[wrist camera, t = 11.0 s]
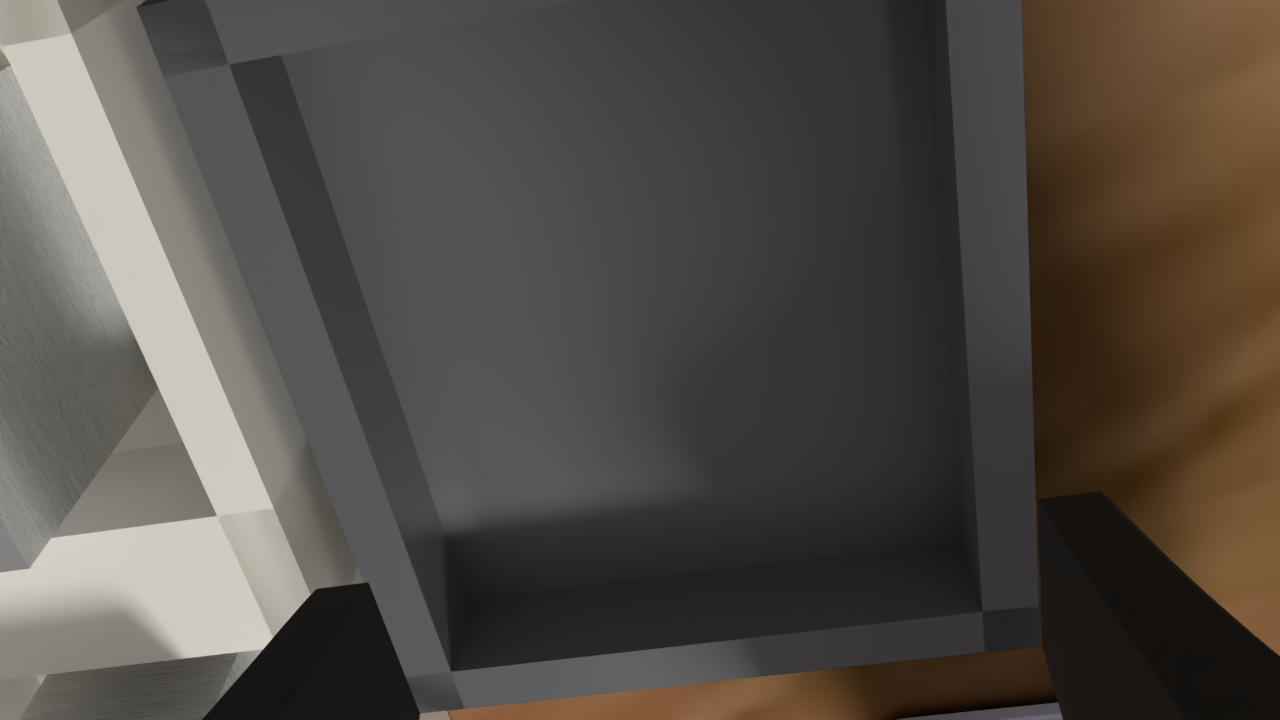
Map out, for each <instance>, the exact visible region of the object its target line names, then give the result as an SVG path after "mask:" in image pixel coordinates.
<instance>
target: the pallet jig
mask: <svg viewBox="0 0 1280 720" xmlns="http://www.w3.org/2000/svg"><path fill="white" fill-rule="evenodd" d="M145 1H146V0H0V66H4V65H11V67H12V69H13V72H14V74H15V76H16V78H17V80H18V82H19V85H20V87H21V89H22V91H23V93H24V96H25V98H26V100H27V102H28V104H29V106H30V109H31V111H32V113H33V115H34V117H35V120H36V122H37V124H38V126H39V128H40V130H41V133H42V135H43V137H44V139H45V141H46V144H47V146H48V148H49V150H50V152H51V154H52V157H53V159H54V161H55V163H56V165H57V168H58V170H59V172H60V174H61V176H62V178H63V181H64V183H65V185H66V187H67V189H68V192H69V194H70V196H71V198H72V200H73V202H74V205H75V207H76V209H77V211H78V213H79V216H80V218H81V220H82V222H83V224H84V226H85V229H86V231H87V233H88V235H89V237H90V240H91V242H92V244H93V246H94V248H95V251H96V253H97V255H98V257H99V259H100V261H101V264H102V266H103V268H104V270H105V272H106V275H107V277H108V279H109V281H110V283H111V285H112V288H113V290H114V292H115V294H116V296H117V299H118V301H119V303H120V305H121V307H122V309H123V312H124V314H125V316H126V318H127V320H128V323H129V325H130V327H131V329H132V331H133V333H134V336H135V338H136V340H137V342H138V344H139V347H140V349H141V351H142V353H143V355H144V357H145V360H146V362H147V364H148V366H149V368H150V371H151V373H152V375H153V377H154V379H155V381H156V384H157V386H158V389H157V390H156V392H155V393H154V394H153V396H152V397H151V399H150V400H149V401H148V403H147V404H146V406H145V407H144V408H143V410H142V411H141V413H140V414H139V415H138V417H137V418H136V420H135V421H134V422H133V424H132V425H131V427H130V428H129V429H128V431H127V432H126V434H125V435H124V436H123V438H122V439H121V441H120V442H119V444H118V445H117V446H116V448H115V449H114V451H113V452H112V453H111V455H110V456H109V458H108V459H107V460H106V462H105V463H104V465H103V466H102V467H101V469H100V470H99V472H98V473H97V474H96V476H95V477H94V479H93V480H92V481H91V483H90V484H89V486H88V487H87V488H86V490H85V491H84V493H83V494H82V495H81V497H80V498H79V500H78V501H77V503H76V504H75V505H74V507H73V508H72V510H71V511H70V512H69V514H68V515H67V517H66V518H65V519H64V521H63V522H62V524H61V525H60V526H59V528H58V529H57V531H56V532H55V533H54V535H53V536H52V538H51V539H50V540H49V542H48V543H47V545H46V546H45V547H44V549H43V550H42V552H41V553H40V554H39V556H38V557H37V559H36V560H35V562H34V563H33V564H32V566H31V567H30V569H23V570H15V571H8V572H0V720H19V719H20V717H21V716H22V714H23V713H24V711H25V709H26V708H27V706H28V704H29V703H30V701H31V700H32V698H33V696H34V695H35V693H36V692H37V690H38V688H39V687H40V685H41V684H42V682H43V680H44V679H45V677H46V676H47V675H49V674H57V673H66V672H74V671H83V670H91V669H100V668H108V667H117V666H125V665H134V664H142V663H151V662H159V661H168V660H176V659H185V658H193V657H202V656H210V655H219V654H227V653H236V652H244V651H253V650H261V649H264V648H265V647H266V645H267V644H268V643H269V642H270V641H271V640H272V638H273V637H274V636H275V635H276V634H277V633H278V631H279V630H280V629H281V628H282V627H283V626H284V624H285V623H286V622H287V621H288V620H289V619H290V617H291V616H292V615H293V614H294V613H295V612H296V611H297V609H298V608H299V607H300V606H301V605H302V604H303V603H304V602H305V600H306V599H307V598H308V597H309V596H310V595H311V594H312V593H313V592H314V591H315V590H316V589H319V588H327V587H335V586H343V585H351V584H359V583H363V580H362V578H361V575H360V573H359V570H358V568H357V565H356V563H355V560H354V557H353V555H352V552H351V550H350V547H349V545H348V542H347V540H346V537H345V535H344V532H343V530H342V527H341V525H340V522H339V519H338V517H337V514H336V512H335V509H334V507H333V504H332V502H331V499H330V497H329V494H328V492H327V489H326V487H325V484H324V482H323V479H322V476H321V474H320V471H319V469H318V466H317V464H316V461H315V459H314V456H313V454H312V451H311V449H310V446H309V444H308V441H307V439H306V436H305V433H304V431H303V428H302V426H301V423H300V421H299V418H298V416H297V413H296V411H295V408H294V406H293V403H292V401H291V398H290V396H289V393H288V390H287V388H286V385H285V383H284V380H283V378H282V375H281V373H280V370H279V368H278V365H277V363H276V360H275V358H274V355H273V352H272V350H271V347H270V345H269V342H268V340H267V337H266V335H265V332H264V330H263V327H262V325H261V322H260V320H259V317H258V315H257V312H256V309H255V307H254V304H253V302H252V299H251V297H250V294H249V292H248V289H247V287H246V284H245V282H244V279H243V277H242V274H241V272H240V269H239V266H238V264H237V261H236V259H235V256H234V254H233V251H232V249H231V246H230V244H229V241H228V239H227V236H226V234H225V231H224V229H223V226H222V223H221V221H220V218H219V216H218V213H217V211H216V208H215V206H214V203H213V201H212V198H211V196H210V193H209V191H208V188H207V185H206V183H205V180H204V178H203V175H202V173H201V170H200V168H199V165H198V163H197V160H196V158H195V155H194V153H193V150H192V148H191V145H190V142H189V140H188V137H187V135H186V132H185V130H184V127H183V125H182V122H181V120H180V117H179V115H178V112H177V110H176V107H175V105H174V102H173V99H172V97H171V94H170V92H169V89H168V87H167V84H166V82H165V79H164V77H163V74H162V72H161V69H160V67H159V64H158V62H157V59H156V56H155V54H154V51H153V49H152V46H151V44H150V41H149V39H148V36H147V34H146V31H145V29H144V26H143V24H142V21H141V19H140V16H139V13H138V11H137V8H136V7H137V6H139V5H140V4H142V3H143V2H145ZM419 720H450V717H449V715H448V712H447V711H439V712H429V713H420V719H419Z"/></svg>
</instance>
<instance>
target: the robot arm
mask: <svg viewBox="0 0 1280 720" xmlns="http://www.w3.org/2000/svg"><path fill="white" fill-rule="evenodd" d="M1038 500H1039V536H1040V573H1041V610H1042V646H1043V650H1044V653H1045V657H1046V661H1047V664H1048V668H1049V672H1050V675H1051V679H1052V683H1053V686H1054V690H1055V694H1056V697H1057V701H1058V702H1057V703H1048V704H1038V705H1028V706H1018V707H1009V708H999V709H989V710H980V711H970V712H960V713H950V714H941V715H931V716H921V717H912V718H902V719H898V720H1280V656H1279V655H1278V654H1276V653H1275V652H1274V651H1273V650H1272V649H1270V648H1269V647H1268V646H1267V645H1266V644H1264V643H1263V642H1262V641H1261V640H1260V639H1258V638H1257V637H1256V636H1255V635H1253V634H1252V633H1251V632H1250V631H1249V630H1248V629H1247V628H1245V627H1244V626H1243V625H1242V624H1241V623H1240V622H1239V621H1237V620H1236V619H1235V618H1234V617H1233V616H1232V615H1231V614H1229V613H1228V612H1227V611H1226V610H1225V609H1224V608H1223V607H1221V606H1220V605H1219V604H1218V603H1217V602H1216V601H1215V600H1214V599H1212V598H1211V597H1210V596H1209V595H1208V594H1207V593H1206V592H1204V591H1203V590H1202V589H1201V588H1200V587H1199V586H1198V585H1197V584H1196V583H1195V582H1194V581H1193V580H1191V579H1190V578H1189V577H1188V576H1187V575H1186V574H1185V573H1184V572H1183V571H1182V570H1181V569H1180V568H1179V567H1178V566H1177V565H1176V564H1175V563H1173V562H1172V561H1171V560H1170V559H1169V558H1168V557H1167V556H1166V555H1165V554H1164V553H1163V552H1162V551H1161V550H1160V549H1159V548H1158V547H1157V546H1156V545H1155V544H1154V543H1153V542H1152V541H1151V540H1150V539H1149V538H1148V537H1147V536H1146V535H1145V534H1144V533H1143V532H1142V531H1141V530H1140V529H1139V528H1138V527H1137V526H1136V525H1135V524H1134V523H1133V522H1132V521H1131V520H1130V519H1129V518H1128V517H1127V516H1126V515H1125V514H1124V513H1123V512H1122V511H1121V510H1120V509H1119V508H1118V507H1117V506H1116V505H1115V504H1114V503H1113V502H1112V501H1111V500H1110V499H1109V498H1107V497H1106V496H1105V495H1103V494H1102V493H1101V492H1095V493H1087V494H1079V495H1070V496H1062V497H1054V498H1046V499H1038ZM419 719H420V712H419V710H418V707H417V705H416V702H415V699H414V697H413V694H412V692H411V689H410V687H409V684H408V682H407V679H406V676H405V674H404V671H403V669H402V666H401V664H400V661H399V659H398V656H397V654H396V651H395V648H394V646H393V643H392V641H391V638H390V636H389V633H388V631H387V628H386V626H385V623H384V620H383V618H382V615H381V613H380V610H379V608H378V605H377V603H376V600H375V597H374V595H373V592H372V590H371V587H370V585H369V582H367V583H359V584H351V585H343V586H335V587H327V588H319V589H316V590H315V591H314V592H313V593H312V594H311V595H310V596H309V597H308V598H307V599H306V600H305V602H304V603H303V604H302V605H301V606H300V607H299V608H298V609H297V611H296V612H295V613H294V614H293V615H292V616H291V617H290V619H289V620H288V621H287V622H286V623H285V624H284V626H283V627H282V628H281V629H280V630H279V631H278V633H277V634H276V635H275V636H274V637H273V638H272V640H271V641H270V642H269V643H268V644H267V645H266V647H265V648H264V649H263V650H262V651H261V652H260V654H259V655H258V656H257V657H256V658H255V659H254V661H253V662H252V663H251V664H250V665H249V666H248V668H247V669H246V670H245V671H244V672H243V673H242V675H241V676H240V677H239V678H238V679H237V680H236V681H235V683H234V684H233V685H232V686H231V687H230V688H229V689H228V691H227V692H226V693H225V694H224V695H223V696H222V697H221V698H220V700H219V701H218V702H217V703H216V704H215V705H214V706H213V708H212V709H211V710H210V711H209V712H208V713H207V714H206V716H205V717H204V718H203V719H202V720H419Z"/></svg>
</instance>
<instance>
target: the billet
mask: <svg viewBox="0 0 1280 720" xmlns="http://www.w3.org/2000/svg"><path fill="white" fill-rule="evenodd" d="M157 389H158V386H157V384H156V381H155V379H154V377H153V375H152V373H151V371H150V368H149V366H148V364H147V362H146V360H145V357H144V355H143V353H142V351H141V349H140V347H139V344H138V342H137V340H136V338H135V336H134V333H133V331H132V329H131V327H130V325H129V323H128V320H127V318H126V316H125V314H124V312H123V309H122V307H121V305H120V303H119V301H118V299H117V296H116V294H115V292H114V290H113V288H112V285H111V283H110V281H109V279H108V277H107V275H106V272H105V270H104V268H103V266H102V264H101V261H100V259H99V257H98V255H97V253H96V251H95V248H94V246H93V244H92V242H91V240H90V237H89V235H88V233H87V231H86V229H85V226H84V224H83V222H82V220H81V218H80V216H79V213H78V211H77V209H76V207H75V205H74V202H73V200H72V198H71V196H70V194H69V192H68V189H67V187H66V185H65V183H64V181H63V178H62V176H61V174H60V172H59V170H58V168H57V165H56V163H55V161H54V159H53V157H52V154H51V152H50V150H49V148H48V146H47V144H46V141H45V139H44V137H43V135H42V133H41V130H40V128H39V126H38V124H37V122H36V120H35V117H34V115H33V113H32V111H31V109H30V106H29V104H28V102H27V100H26V98H25V96H24V93H23V91H22V89H21V87H20V85H19V82H18V80H17V78H16V76H15V74H14V72H13V69H12V67H11V65H4V66H0V572H8V571H15V570H23V569H30V567H31V566H32V564H33V563H34V562H35V560H36V559H37V557H38V556H39V554H40V553H41V552H42V550H43V549H44V547H45V546H46V545H47V543H48V542H49V540H50V539H51V538H52V536H53V535H54V533H55V532H56V531H57V529H58V528H59V526H60V525H61V524H62V522H63V521H64V519H65V518H66V517H67V515H68V514H69V512H70V511H71V510H72V508H73V507H74V505H75V504H76V503H77V501H78V500H79V498H80V497H81V495H82V494H83V493H84V491H85V490H86V488H87V487H88V486H89V484H90V483H91V481H92V480H93V479H94V477H95V476H96V474H97V473H98V472H99V470H100V469H101V467H102V466H103V465H104V463H105V462H106V460H107V459H108V458H109V456H110V455H111V453H112V452H113V451H114V449H115V448H116V446H117V445H118V444H119V442H120V441H121V439H122V438H123V436H124V435H125V434H126V432H127V431H128V429H129V428H130V427H131V425H132V424H133V422H134V421H135V420H136V418H137V417H138V415H139V414H140V413H141V411H142V410H143V408H144V407H145V406H146V404H147V403H148V401H149V400H150V399H151V397H152V396H153V394H154V393H155V392H156V390H157Z"/></svg>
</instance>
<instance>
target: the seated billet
mask: <svg viewBox="0 0 1280 720" xmlns="http://www.w3.org/2000/svg"><path fill="white" fill-rule="evenodd" d="M262 650H263V649H261V650H253V651H244V652H236V653H227V654H219V655H210V656H202V657H193V658H185V659H176V660H168V661H159V662H151V663H142V664H134V665H125V666H117V667H108V668H100V669H91V670H83V671H74V672H66V673H57V674H49V675H47V676H46V677H45V679H44V680H43V682H42V684H41V685H40V687H39V688H38V690H37V692H36V693H35V695H34V696H33V698H32V700H31V701H30V703H29V704H28V706H27V708H26V709H25V711H24V713H23V714H22V716H21V717H20V719H19V720H202V719H203V718H204V717H205V716H206V714H207V713H208V712H209V711H210V710H211V709H212V708H213V706H214V705H215V704H216V703H217V702H218V701H219V700H220V698H221V697H222V696H223V695H224V694H225V693H226V692H227V691H228V689H229V688H230V687H231V686H232V685H233V684H234V683H235V681H236V680H237V679H238V678H239V677H240V676H241V675H242V673H243V672H244V671H245V670H246V669H247V668H248V666H249V665H250V664H251V663H252V662H253V661H254V659H255V658H256V657H257V656H258V655H259V654H260V652H261V651H262Z"/></svg>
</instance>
